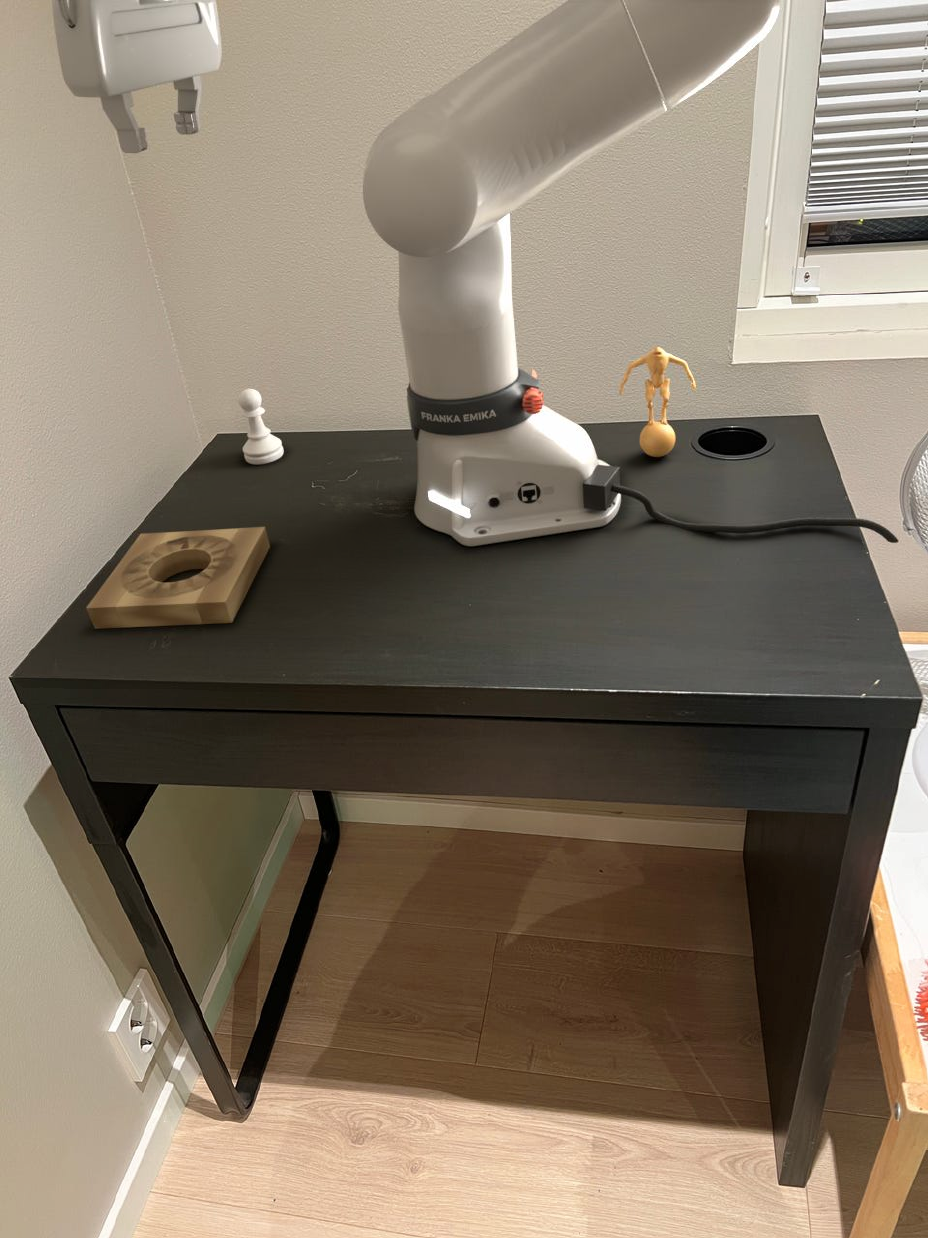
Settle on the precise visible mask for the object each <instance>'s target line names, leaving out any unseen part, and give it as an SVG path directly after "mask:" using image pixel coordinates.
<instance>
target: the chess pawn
mask: <svg viewBox="0 0 928 1238" xmlns="http://www.w3.org/2000/svg"><path fill="white" fill-rule="evenodd" d="M237 401H238V404H239V407H241V409H242V410H243V411H242V413H241V416H242V417H243V418H247V419H248V425H249V431H248V432H247V434H246V437H247V438H248V439H247V441H246V442H245V444H244V445H243V446H242V452H243V457H244V460H245V461H246V462H247V463H248V464H250V465H265V464H266V465H267V464H271V463H273V462H275V461H277V460H279V459H281V458H282V457H283V455H284V452H285V451H284V446H283V443H282V440H281V439H280V438H279V437H277V436H275V435H274V434H271V429H270V428H268V427H267V426H265V424H264V421H263V418H262V415H263V414H265V412H266V410H265V409H264V408H263V407H262V406H261V405H262V401H263V399H262V395H261V393H260V392H259V391H258V390H256V389H254V388H245V389H243V390H242V391H241V392H240V393H239V394H238V398H237Z"/></svg>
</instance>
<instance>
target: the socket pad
mask: <svg viewBox="0 0 928 1238" xmlns="http://www.w3.org/2000/svg"><path fill="white" fill-rule="evenodd" d="M270 548H271V544H270V541H269V537H268V533H267V529H266V527H265V526H253V527H239V528H237V527H236V528H221V529H201V530H186V531H185V530H184V531H169V532H168V531H167V532H165V531H164V532H150V533H149V532H148V533H147V532H146V533H140V534H139V535H138V536H137V538H136V539H135V541H134V542H133V544H132V545H131V546H130V548H129V549H128V550H127V552H126V553H125V554H124V555H123V557H122V559H121V560H120V562H118V564H117V565H116V566H115V568H114V570H113V571H112V572H111V573H110V575H109V576H108V577H107V579H106V580H105V581H104V583H103V584H102V585H101V586H100V589H99V590H98V591H97V593H96V594H95V595H94V596H93V598H92V599H91V601H90V602H89V603H88V605H86V608H85V610H86V612H87V615H88V616H89V618H90V621H91V623H92V625H93V628H94V629H95V630H99V629H100V630H101V629H122V628H124V629H125V628H146V627H149V628H150V627H165V626H166V627H168V626H171V627H172V626H192V625H193V626H194V625H213V624H214V625H217V624H232V623H233V622H234V619H235V618H236V615H237V614H238V611H239V610H240V608H241V606H242V604H243V602H244V600H245V598H246V596H247V595H248V593H249V590H250V589H251V586H252V584H253V583H254V580H255V578H256V576H257V574H258V572H259V570H260V568H261V565H262V564H263V562H264V560H265V558H266V556H267V554H268V552H269V550H270ZM190 570H202V571H200V572H199V573H197V574H195V575H192V576H191V577H189V578H186V579H182V580H177V581H171V582H170V581H169V582H165V581H166V580H167V579H168V578H170V577H173V576H175V575H177V574H179V573H182V572H186V571H190Z"/></svg>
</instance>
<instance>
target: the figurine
mask: <svg viewBox="0 0 928 1238" xmlns="http://www.w3.org/2000/svg"><path fill="white" fill-rule="evenodd" d="M669 363H672V364H675V365H678V366H683V369H684V372H685V373H686V376H687V378H688V379H689V381H691V383H690V387H692V391H693V392H695V391H697V386H696V381H695V379H694V377H693V374H692V372H691V371H690V368H689V365H688V363H687V362H686V361H685V360H684V359H681V358H679V357H676V356H674V355H673V354H671V353H668V352H666V351H665V350H664V349H663V348H661V347H659V346H656V347H654V348H653V349H651V351H650V352H649V353H648V354H645V355H642V357H641V358H639V359H637V360H635V361H633V362H632V363H630V364H629V365H628V366H627V369H626V372H625V374H624V377H623V378H622V382H621V384H620V387H619V395H624V391H625V390H626V388H625V385H626V383H627V382H628V379H629V377H630V375H631V373H632V370H633V369H635V368H638V367H640V366H643V365H645V364H646V366H647V369H648V371H649V374H650V378H651V379H646V380H645V381H644V387H645V401H646V403H647V404H646V408H647V409H648V422H647V425H645V426H644V427H643V429H642V430H641V432H640V435H639V445H640V448H641V449H642V451H643V452H644V453H645V454H646V455H648V456H650V457H653V458H661V457H663V456H664V457H665V456H666V455H667V454H669V453H670V452H671V451H672V450H673V448H674V447H675V443H676V433H675V431H674V429H673V427H672V426H671V425H669V423H668V421H667V408H668V406H669V404H668V402H669V399H670V384H671V380H670V378H665V377H664V376H665V373H666V370H667V368H668V364H669ZM664 378H665V379H664ZM656 389H659V395H660V397H662V400H663V401H662V403H661V415H660V417H661V418H660V421H659V420H657V421H655V420H654V403H653V402H652V401H653V398H654V397H655V396H656Z"/></svg>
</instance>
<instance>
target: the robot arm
mask: <svg viewBox="0 0 928 1238" xmlns="http://www.w3.org/2000/svg"><path fill="white" fill-rule="evenodd" d="M780 6H781V0H566V1H565V2H564V3H562V4H560V5H559V6H557V7H556V8H555V9H553V10H551V12H549V13H547V14H545V15H544V16H543V17H542V18H540V19H539V20H537V21H536V22H534V23H533V24H532V25H530V26H528V27H527V28H526V29H523V31H521V32H519V33H518V34H517V35H515V36H514V37H512V38H511V39H510V40H508V41H507V42H506V43H504V44H503V45H501V46H500V47H498V48H497V49H496V50H494V51H492V53H490V54H489V55H488V54H487V56H485V57H484V58H483V59H481V60H479V62H477V63H475V64H474V65H473V66H471V67H470V68H468V69H467V70H465V71H464V72H462V73H461V74H460V75H458V76H456V77H455V78H454V79H452V80H451V81H449V82H448V83H446V84H445V85H444V86H442V87H441V88H439V89H438V90H436V91H435V92H434V93H431V94H429V95H426V96H424V97H423V98H420V99H419V100H418V101H416V102H415V103H414V104H412V105H411V106H410V107H409V108H408V109H407V110H405V111H404V112H402V113H401V114H400V115H399V116H398V117H396V118H395V119H394V120H393V121H391V122H390V123H388V124H387V125H386V127H384V128H383V129H382V130H381V132H380V133H379V134H378V135H377V137H376V138H375V140H374V141H373V143H372V145H371V147H370V149H369V151H368V154H367V157H366V161H365V165H364V171H363V177H362V178H363V180H362V199H363V205H364V209H365V213H366V216H367V219H368V221H369V223H370V224H371V226H372V228H373V230H374V231H375V233H376V234H377V235H378V236H379V238H380V239H382V241H383V242H385V243H386V244H387V246H389V247H391V248H392V249H394V250H396V251H397V253H398V300H397V301H398V303H397V310H398V316H399V317H398V318H399V323H400V324H399V325H400V329H401V337H402V343H403V349H404V356H405V361H406V367H407V374H408V381H409V382H408V386H407V387H406V404H407V411H408V417H409V423H410V428H411V430H412V433H413V438H414V440H415V441H416V449H417V450H416V451H417V453H416V454H417V482H416V493H415V499H414V500H415V501H414V507H413V511H414V515H415V517H416V519H418V521H419V522H420V523H422V524H423V525H424V526H425V527H428V528H429V529H432V530H435V531H437V532H440V533H443V534H447V535H449V536H451V537H452V538H453V539H454V540H455V541H456V542H458V543H459V544H461V545H462V546H465V547H477V546H483V545H489V544H496V543H497V544H498V543H503V542H511V541H515V540H516V541H517V540H522V539H523V540H524V539H528V538H529V539H530V538H535V537H536V538H537V537H542V536H549V535H557V534H562V533H567V532H568V533H569V532H574V531H580V530H581V531H582V530H587V529H594V528H601V527H604V526H607V525H608V524H610V522H611V521H612V520H613V519H614V518H615V517H616V516H617V514H618V512H619V510H620V507H621V503H622V495H623V496H627V497H630V498H633V499H635V500H637V501H639V502H640V503H642V504H643V506H644V509H645V511H646V512H647V514H648V515H649V516H650V517H651V518H653V519H655V520H656V521H658V522H660V523H664V524H667V525H672V526H676V527H679V528H683V529H686V530H689V531H695V532H702V533H721V534H722V533H723V534H724V533H725V534H752V533H753V534H754V533H762V532H770V531H775V530H781V529H787V528H794V527H807V526H809V527H810V526H812V527H813V526H815V527H816V526H817V527H818V526H819V527H856V528H857V527H858V528H862V529H863V528H864V529H868V530H870V531H873V532H875V533H877V534H879V535H880V536H881V537H883V538H884V539H885V540H886V541H887V542H889V543H891V544H897V543H899V539H898V538H897V537H896V535H895V534H894V533H892V532H891V530H889V529H888V528H886V527H885V526H883V525H881V524H880V523H877V522H875V521H872V520H869V519H865V518H856V517H798V518H789V519H784V520H783V519H782V520H777V521H771V522H765V523H755V524H718V523H717V524H713V523H711V524H710V523H693V522H687V521H686V522H685V521H680V520H676V519H674V518H673V517H672V518H671V517H669V516H667V515H665V514H663V513H661V512H660V511H658V510H656V509H655V508H654V506H653V503H652V500H651V499H650V498H649V497H648V496H647V495H646V494H643V492H641V491H639V490H636V489H633V488H630V487H626V486H622V485H621V483H620V482H621V481H620V477H621V475H620V466H615V465H614V466H612V465H610V464H608V463H607V462H606V461H603V460H602V459H599V458H598V455H597V452H596V449H595V446H594V444H593V441H592V439H591V438H590V435H589V434H588V433H587V431H586V430H585V429H584V428H583V427H582V426H581V425H580V424H577V423H576V422H574V421H572V420H570V419H568V418H566V417H565V416H563V415H561V414H559V413H558V412H556V411H554V410H553V409H551V408H549V407H548V406H545V405H544V394H543V393H542V391H541V386H540V379H538V374H537V372H536V370H535V369H532V370H531V374H530V373H528V372H526V371H525V370H523V369H521V368H520V367H519V366H518V365H519V364H518V353H517V342H516V341H517V340H516V328H515V318H514V317H515V316H514V305H513V291H512V247H511V244H512V243H511V220H510V219H511V218H510V217H511V216H510V214H511V213H512V212H514V211H516V210H517V209H518V208H520V207H521V206H523V205H524V204H526V203H527V202H529V201H530V200H531V199H534V198H535V197H536V196H537V195H539V194H540V193H542V192H543V191H545V190H546V189H547V188H549V187H550V186H551V185H552V184H554V183H555V182H557V181H558V180H560V179H561V178H562V177H564V176H565V175H566V174H567V173H569V172H570V171H572V170H573V169H574V168H576V167H577V166H579V165H581V164H582V163H583V162H585V161H586V160H588V159H589V158H591V157H593V156H595V155H596V154H597V153H599V152H601V151H603V150H604V149H606V148H607V147H609V146H611V145H612V144H614V143H616V142H618V141H619V140H621V139H622V138H624V137H626V136H628V135H630V134H631V133H633V132H634V131H636V130H638V129H639V128H641V127H642V126H644V125H646V124H647V123H650V122H651V121H653V120H654V119H656V118H658V117H659V116H661V115H662V114H664V113H666V112H667V111H668V109H669V110H671V109H672V108H674V107H676V106H678V105H679V104H681V103H682V102H683V101H685V100H687V99H689V98H690V97H691V96H693V95H694V94H696V93H697V92H698V91H700V90H702V89H703V88H704V87H706V86H707V85H708V84H710V83H711V82H713V81H714V80H715V79H716V78H718V77H719V76H721V75H722V74H723V73H724V72H726V71H727V70H728V69H729V68H731V67H732V66H733V65H734V64H735V63H736V62H738V61H739V60H740V59H742V58H743V57H744V56H745V55H746V54H747V53H748V52H750V51H751V50H752V49H753V48H754V47H755V46H756V45H757V44H759V43H760V41H762V40H764V38H765V37H766V36H767V34H768V33H770V31H771V29H772V28H773V25H774V24H775V22H776V19H777V17H778V15H779V10H780ZM52 17H53V18H52V19H53V25H54V33H55V40H56V46H57V53H58V57H59V58H58V59H59V65H60V69H61V74H62V78H63V81H64V83H65V84H66V86H67V88H68V89H69V91H70V92H71V94H72V95H73V96H74V97H78V98H100V102H101V106H102V110H103V112H104V113H105V115H106V116H107V118H108V119H109V121H110V123H111V124H112V126H113V128H114V129H115V130H116V133H117V137H118V142H119V146H120V147H119V148H120V150H121V151H122V152H123V153H125V154H139V153H141V152H144V151H147V149H148V147H149V146H148V141H147V140H146V139H147V134H146V129H145V127H140V126H139V125H138V122H137V120H136V117H135V115H134V113H133V111H132V109H131V108H133V107H134V105H135V104H134V99H133V94H132V92H135V91H139V90H144V89H147V88H153V87H156V86H161V85H165V84H168V83H173V88H174V90H175V91H177V111H176V112H173V118H174V122H175V129H176V131H177V133H178V134H180V135H187V136H188V135H189V136H190V135H191V136H192V135H194V134H198V133H200V131H201V129H202V127H201V126H202V124H201V119H200V113H199V111H200V107H201V99H202V93H203V86H202V80H201V79H202V78H201V75H207V74H209V73H215V72H217V71H219V70H220V66H221V63H222V62H221V61H222V56H223V48H222V35H221V26H220V18H219V11H218V4H217V0H52ZM658 85H659V86H658ZM661 92H662V93H661ZM664 100H665V101H664ZM665 102H666V103H665ZM666 105H667V106H666ZM667 107H668V108H667Z"/></svg>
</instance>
